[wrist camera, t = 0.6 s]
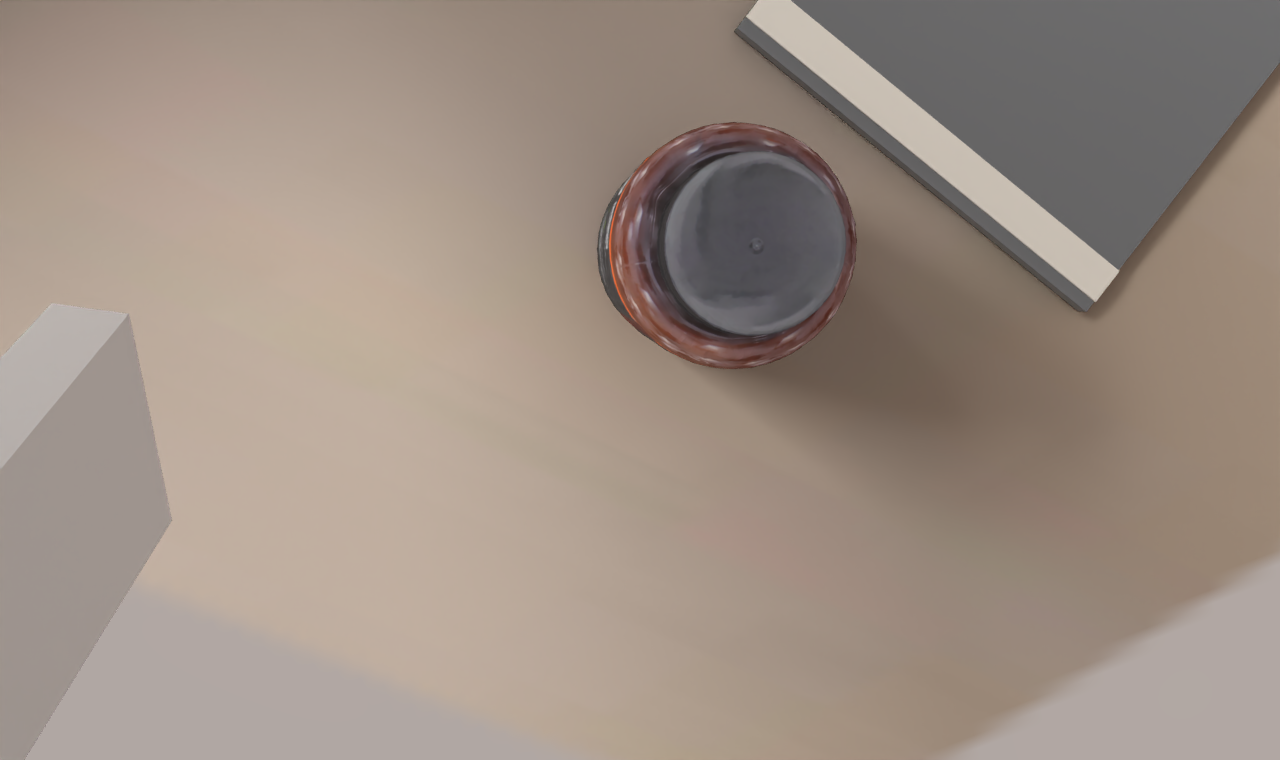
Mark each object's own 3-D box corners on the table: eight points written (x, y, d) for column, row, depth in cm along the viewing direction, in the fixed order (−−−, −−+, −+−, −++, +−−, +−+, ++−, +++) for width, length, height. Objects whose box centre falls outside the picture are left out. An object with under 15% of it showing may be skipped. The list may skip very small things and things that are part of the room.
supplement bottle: (812, 309, 37) (929, 333, 26) (632, 373, 37) (672, 425, 25) (751, 125, 36) (845, 67, 25) (567, 189, 36) (579, 160, 25)
